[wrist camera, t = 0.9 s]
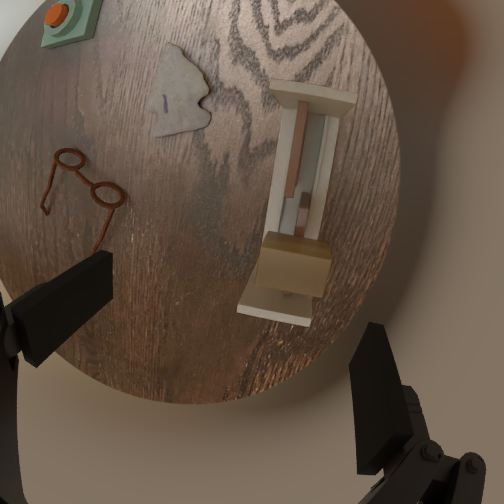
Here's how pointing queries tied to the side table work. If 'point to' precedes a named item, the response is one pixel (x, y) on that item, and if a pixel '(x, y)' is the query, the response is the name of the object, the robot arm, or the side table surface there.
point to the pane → (294, 259)
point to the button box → (73, 23)
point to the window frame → (298, 183)
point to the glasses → (88, 183)
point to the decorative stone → (177, 94)
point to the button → (56, 15)
